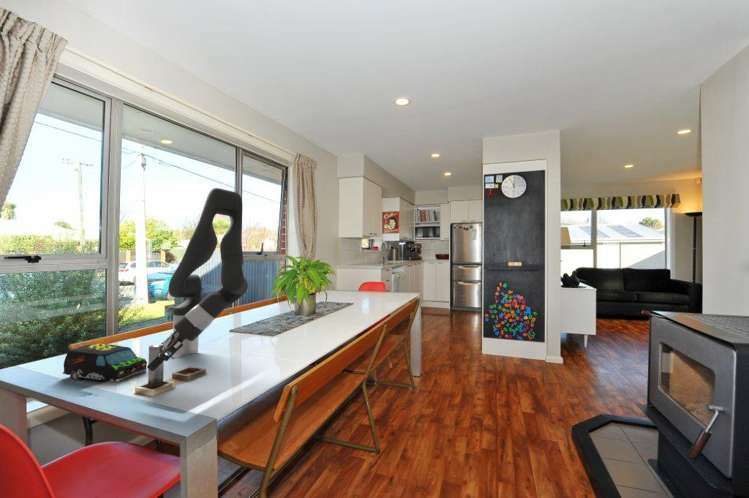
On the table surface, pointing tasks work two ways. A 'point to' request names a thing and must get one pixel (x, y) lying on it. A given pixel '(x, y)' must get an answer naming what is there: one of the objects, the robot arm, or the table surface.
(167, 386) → the wooden trays
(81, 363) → the toy van
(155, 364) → the robot arm
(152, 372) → the grey tall bar
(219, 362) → the table surface
